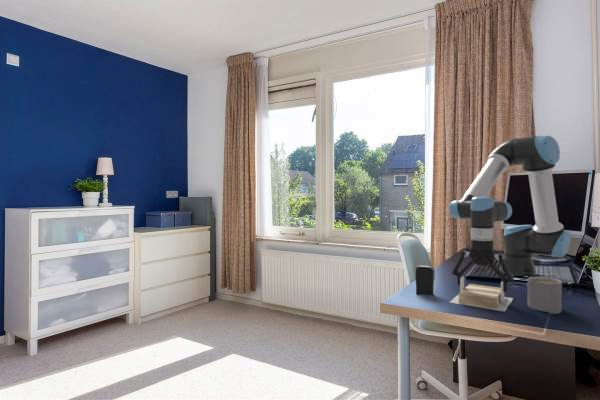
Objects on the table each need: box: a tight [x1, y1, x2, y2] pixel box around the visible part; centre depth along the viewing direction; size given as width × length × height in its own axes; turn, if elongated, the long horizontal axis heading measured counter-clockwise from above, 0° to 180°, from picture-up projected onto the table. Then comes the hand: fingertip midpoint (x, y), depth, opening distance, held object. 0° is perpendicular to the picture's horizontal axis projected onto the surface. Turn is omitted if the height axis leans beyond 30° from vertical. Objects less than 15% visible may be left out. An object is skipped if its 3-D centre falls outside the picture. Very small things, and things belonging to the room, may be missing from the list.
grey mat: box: [449, 293, 514, 313], centre depth 143 cm, size 18×18×1 cm
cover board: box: [458, 283, 501, 310], centre depth 143 cm, size 16×12×4 cm
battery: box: [415, 264, 436, 296], centre depth 153 cm, size 7×4×11 cm, turn 58°
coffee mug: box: [526, 276, 563, 315], centre depth 135 cm, size 13×10×10 cm
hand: (481, 297), depth 143 cm, fingers open, 13 cm apart
